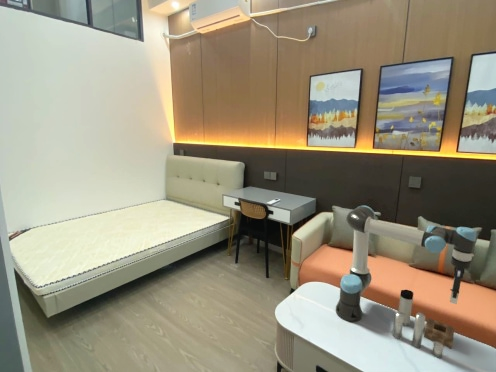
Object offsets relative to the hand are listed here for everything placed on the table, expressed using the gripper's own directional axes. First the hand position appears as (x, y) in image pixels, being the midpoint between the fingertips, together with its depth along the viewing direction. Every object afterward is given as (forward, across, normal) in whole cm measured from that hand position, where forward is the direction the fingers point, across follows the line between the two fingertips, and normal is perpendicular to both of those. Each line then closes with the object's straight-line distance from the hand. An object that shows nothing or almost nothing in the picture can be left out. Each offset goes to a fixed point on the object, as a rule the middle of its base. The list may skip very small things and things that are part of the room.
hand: (454, 296), depth 135 cm
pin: (+27, -13, +20) cm, 36 cm away
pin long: (+27, -13, +11) cm, 32 cm away
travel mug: (+27, +2, +20) cm, 34 cm away
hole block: (+27, +1, +3) cm, 27 cm away
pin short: (+27, -13, +2) cm, 30 cm away
